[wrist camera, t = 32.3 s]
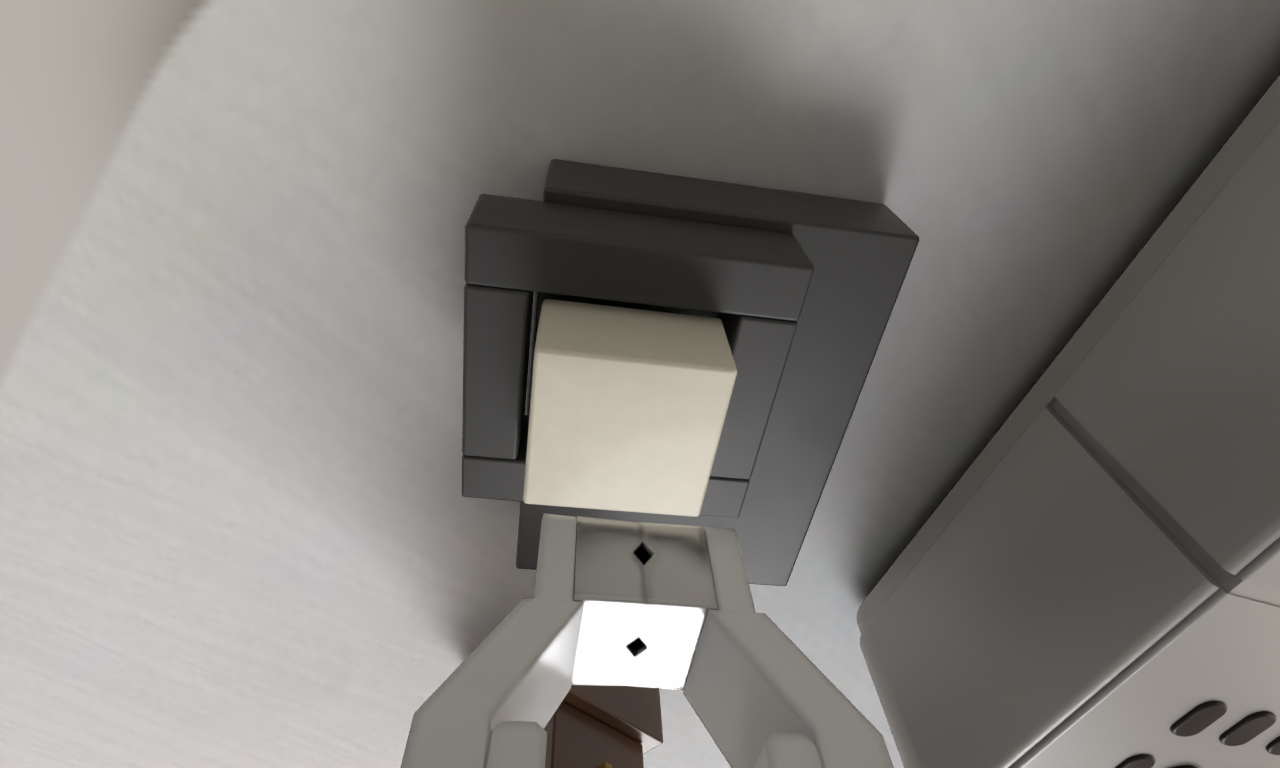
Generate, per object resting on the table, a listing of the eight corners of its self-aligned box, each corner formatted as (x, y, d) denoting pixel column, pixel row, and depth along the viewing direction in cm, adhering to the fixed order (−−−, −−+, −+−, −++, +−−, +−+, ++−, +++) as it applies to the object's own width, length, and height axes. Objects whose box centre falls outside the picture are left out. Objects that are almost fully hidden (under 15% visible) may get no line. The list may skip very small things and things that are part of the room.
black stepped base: (481, 511, 21) (459, 619, 18) (494, 149, 15) (464, 209, 12) (771, 533, 22) (801, 639, 19) (886, 203, 16) (958, 272, 13)
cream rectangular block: (531, 441, 15) (522, 505, 14) (542, 296, 13) (534, 349, 12) (689, 455, 16) (699, 518, 14) (722, 316, 14) (739, 370, 12)
